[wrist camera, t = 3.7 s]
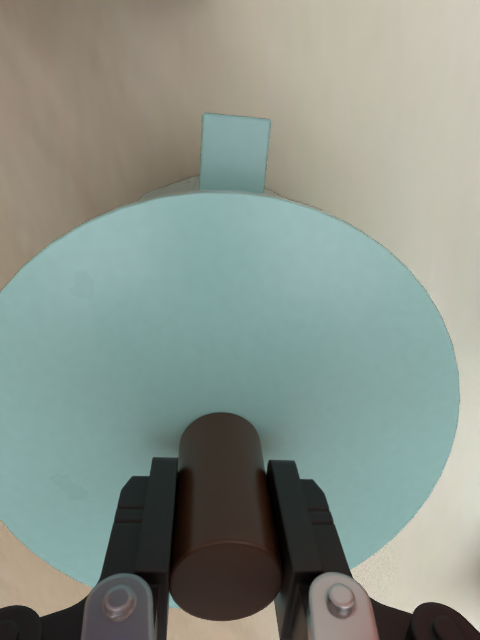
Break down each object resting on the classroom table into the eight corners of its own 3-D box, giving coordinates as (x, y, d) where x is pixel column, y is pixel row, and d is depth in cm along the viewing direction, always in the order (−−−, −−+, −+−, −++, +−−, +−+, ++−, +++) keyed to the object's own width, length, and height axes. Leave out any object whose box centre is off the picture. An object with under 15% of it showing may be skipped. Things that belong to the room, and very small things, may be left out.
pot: (98, 433, 30) (53, 554, 21) (85, 110, 23) (7, 91, 14) (308, 439, 31) (347, 555, 23) (360, 136, 24) (448, 135, 15)
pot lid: (7, 582, 18) (-84, 787, 12) (-62, 163, 12) (-303, 187, 6) (389, 580, 19) (463, 761, 14) (502, 209, 13) (715, 263, 8)
